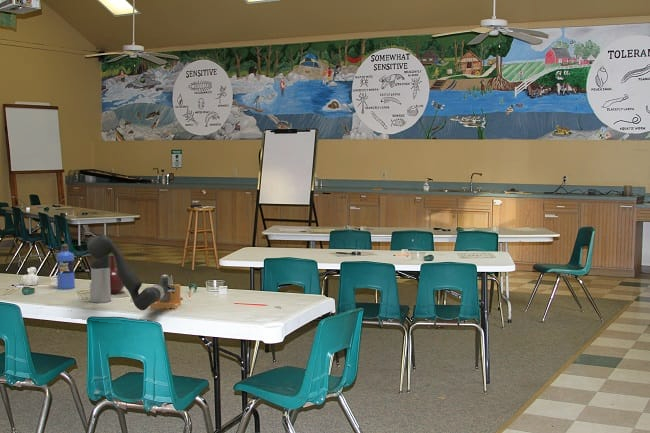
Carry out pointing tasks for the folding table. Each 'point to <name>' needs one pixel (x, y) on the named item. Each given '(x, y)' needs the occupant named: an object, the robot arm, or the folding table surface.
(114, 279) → the round-bottom flask
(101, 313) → the folding table surface
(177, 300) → the keeper bracket
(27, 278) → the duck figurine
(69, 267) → the water bottle
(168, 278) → the link block
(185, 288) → the folding table surface
